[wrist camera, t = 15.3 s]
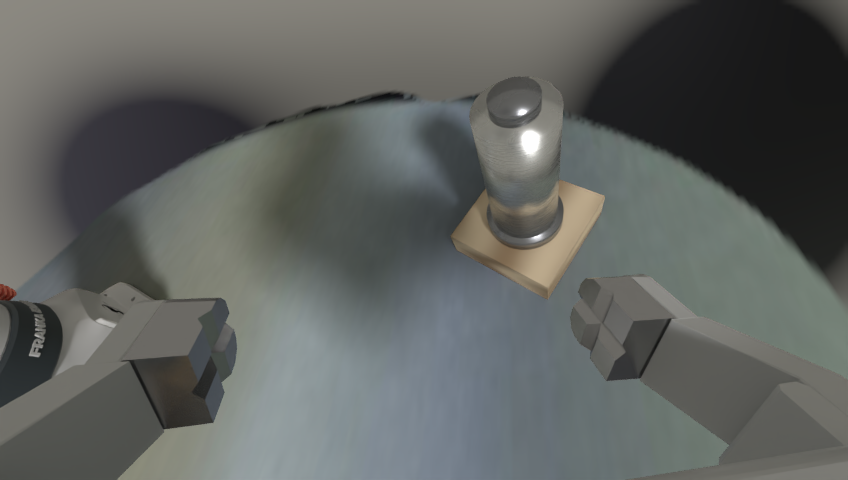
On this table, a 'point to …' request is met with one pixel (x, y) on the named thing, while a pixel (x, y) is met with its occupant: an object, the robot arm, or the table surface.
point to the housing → (520, 159)
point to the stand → (541, 263)
